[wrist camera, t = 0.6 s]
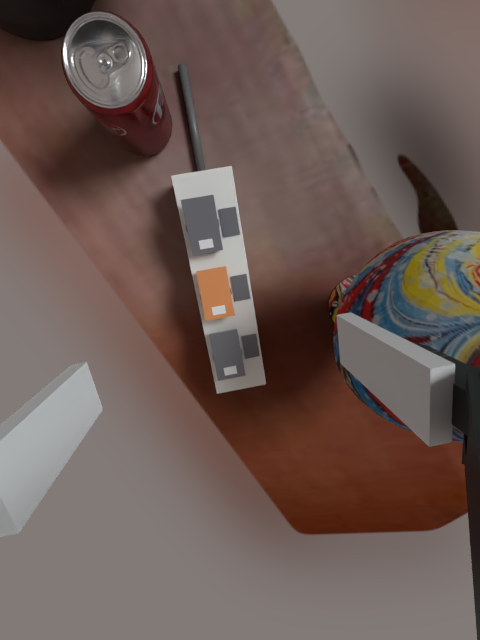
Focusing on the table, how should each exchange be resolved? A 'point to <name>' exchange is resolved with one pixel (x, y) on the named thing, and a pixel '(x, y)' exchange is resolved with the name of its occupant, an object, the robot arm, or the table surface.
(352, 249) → the table surface
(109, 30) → the soda can
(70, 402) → the robot arm
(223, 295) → the rocker middle
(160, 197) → the table surface
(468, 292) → the vase
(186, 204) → the rocker
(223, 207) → the power strip
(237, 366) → the rocker
